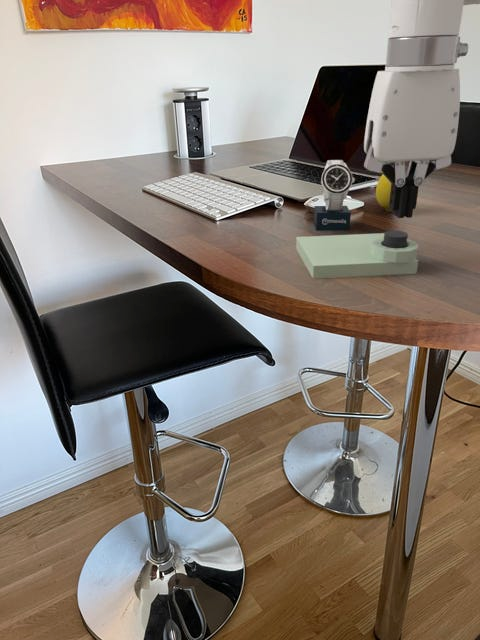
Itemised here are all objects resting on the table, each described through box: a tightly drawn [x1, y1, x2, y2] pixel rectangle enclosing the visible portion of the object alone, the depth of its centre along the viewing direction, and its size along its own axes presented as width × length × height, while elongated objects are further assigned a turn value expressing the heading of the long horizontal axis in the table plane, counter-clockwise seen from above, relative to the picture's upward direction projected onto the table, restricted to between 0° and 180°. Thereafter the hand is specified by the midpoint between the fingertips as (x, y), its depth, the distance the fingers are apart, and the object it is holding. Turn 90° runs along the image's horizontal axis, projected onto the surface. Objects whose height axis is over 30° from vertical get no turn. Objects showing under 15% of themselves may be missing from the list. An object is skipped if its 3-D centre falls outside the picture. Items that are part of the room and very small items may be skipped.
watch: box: [313, 159, 356, 232], centre depth 83 cm, size 6×8×11 cm
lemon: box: [375, 173, 406, 213], centre depth 91 cm, size 6×6×8 cm
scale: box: [295, 232, 419, 280], centre depth 70 cm, size 14×12×4 cm
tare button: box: [383, 230, 409, 248], centre depth 66 cm, size 3×3×2 cm
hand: (401, 214), depth 65 cm, fingers closed
